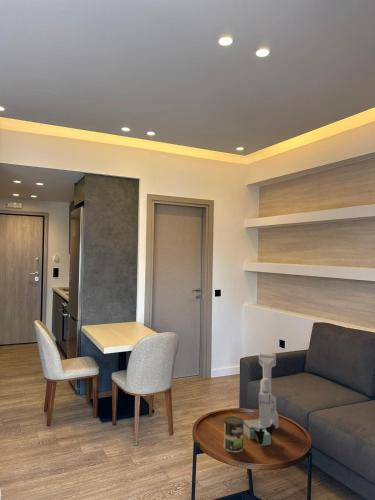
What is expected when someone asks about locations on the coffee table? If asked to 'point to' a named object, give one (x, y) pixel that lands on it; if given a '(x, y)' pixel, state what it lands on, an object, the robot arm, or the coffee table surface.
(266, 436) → the end cover
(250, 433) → the housing
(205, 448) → the coffee table surface
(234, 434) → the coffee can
